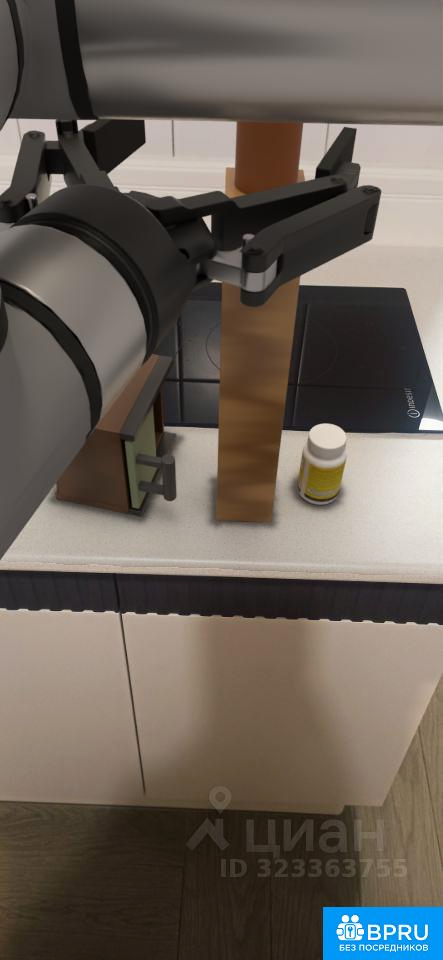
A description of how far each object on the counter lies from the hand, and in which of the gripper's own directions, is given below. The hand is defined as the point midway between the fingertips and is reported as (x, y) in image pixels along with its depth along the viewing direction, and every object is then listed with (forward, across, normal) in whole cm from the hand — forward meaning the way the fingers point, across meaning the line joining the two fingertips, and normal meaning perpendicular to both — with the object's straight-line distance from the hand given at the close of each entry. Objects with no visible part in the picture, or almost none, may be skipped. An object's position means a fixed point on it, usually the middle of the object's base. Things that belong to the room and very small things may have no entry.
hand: (239, 134), depth 41 cm
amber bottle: (+6, 0, -5) cm, 8 cm away
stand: (+6, 0, -40) cm, 41 cm away
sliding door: (+3, -8, -39) cm, 40 cm away
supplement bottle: (+11, +7, -40) cm, 43 cm away
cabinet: (+6, -16, -40) cm, 44 cm away
